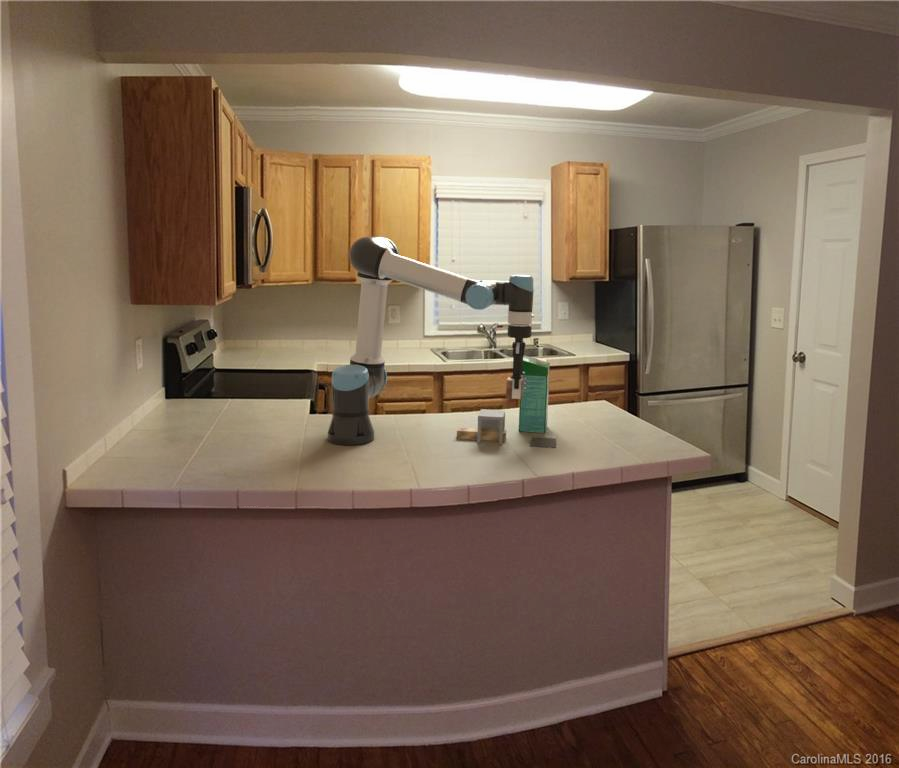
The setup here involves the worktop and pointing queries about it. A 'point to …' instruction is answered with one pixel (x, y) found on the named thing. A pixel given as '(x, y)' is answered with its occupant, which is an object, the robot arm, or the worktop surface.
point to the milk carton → (534, 395)
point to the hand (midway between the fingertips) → (516, 396)
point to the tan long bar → (485, 434)
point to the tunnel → (491, 422)
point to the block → (509, 388)
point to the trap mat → (543, 442)
